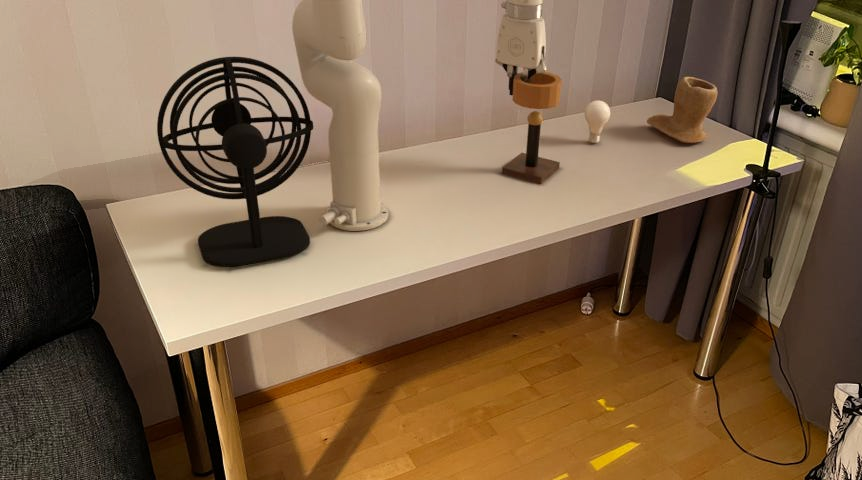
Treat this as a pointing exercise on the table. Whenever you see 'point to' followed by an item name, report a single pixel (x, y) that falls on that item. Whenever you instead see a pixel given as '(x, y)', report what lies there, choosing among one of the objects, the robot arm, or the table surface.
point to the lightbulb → (596, 118)
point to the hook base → (530, 169)
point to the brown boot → (687, 111)
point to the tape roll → (537, 91)
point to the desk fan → (240, 162)
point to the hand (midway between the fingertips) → (518, 94)
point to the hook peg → (533, 138)
